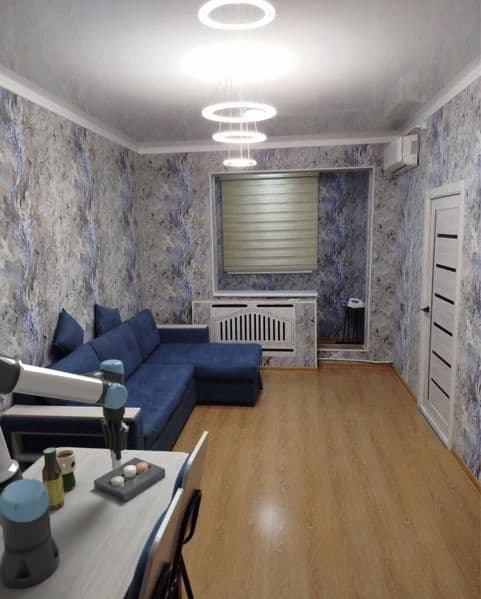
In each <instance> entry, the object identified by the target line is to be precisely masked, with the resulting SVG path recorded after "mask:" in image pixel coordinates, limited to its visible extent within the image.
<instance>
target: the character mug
mask: <svg viewBox="0 0 481 599" xmlns="http://www.w3.org/2000/svg"><path fill="white" fill-rule="evenodd" d="M56 457H57V461H58V463H59V465H60V467H61V469H62V478H63V488H64V491H65V490H71V489H74V488H75V487H76V477H75V473H74V471H75V470H76V468H77V462H76V451H75V450H73V449H71V448H70V449H69V448H67V449H65V448H64V449H61V450H57V453H56Z"/></svg>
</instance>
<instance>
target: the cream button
mask: <svg viewBox="0 0 481 599" xmlns="http://www.w3.org/2000/svg"><path fill="white" fill-rule="evenodd" d="M135 476H136V466H134V465H129V466H126V467H125V468H124V477H125V478H127V479H129V480H130V479H132V478H133V477H135Z"/></svg>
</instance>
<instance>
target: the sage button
mask: <svg viewBox="0 0 481 599" xmlns="http://www.w3.org/2000/svg"><path fill="white" fill-rule="evenodd" d="M122 484H124V478H123V477H121V476H117V477H114V478H112V479H111V485H112V486H115V487H119V486H120V485H122Z"/></svg>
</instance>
